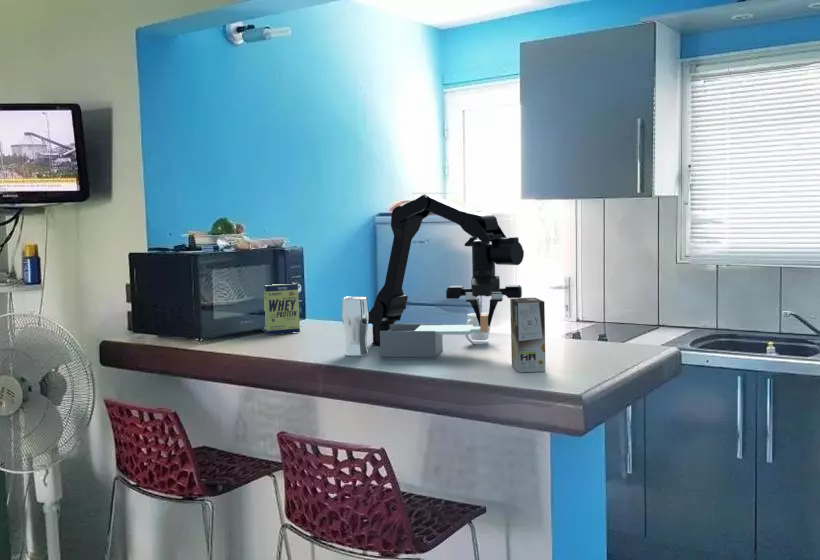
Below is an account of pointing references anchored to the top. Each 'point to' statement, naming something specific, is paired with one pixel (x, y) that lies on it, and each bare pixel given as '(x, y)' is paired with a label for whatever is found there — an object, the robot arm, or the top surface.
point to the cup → (476, 336)
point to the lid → (458, 328)
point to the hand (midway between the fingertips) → (484, 325)
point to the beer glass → (355, 324)
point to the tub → (410, 343)
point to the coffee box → (528, 334)
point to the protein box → (281, 308)
